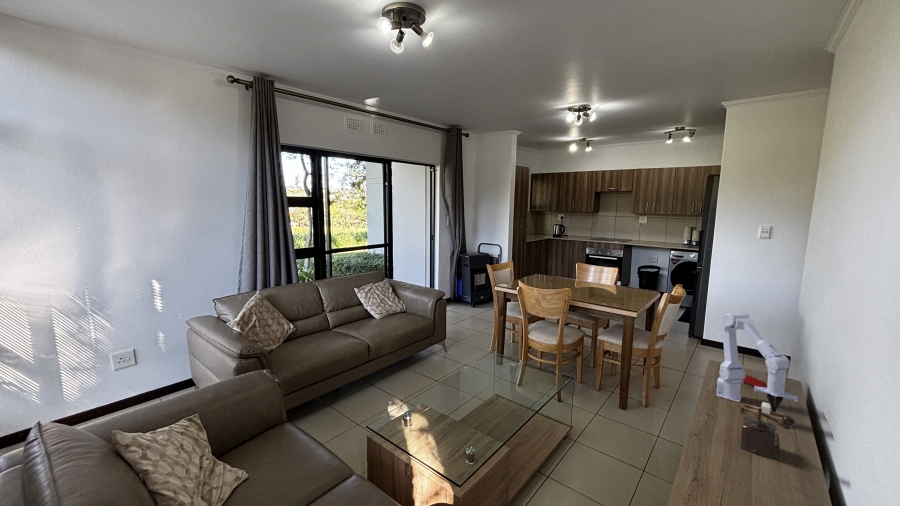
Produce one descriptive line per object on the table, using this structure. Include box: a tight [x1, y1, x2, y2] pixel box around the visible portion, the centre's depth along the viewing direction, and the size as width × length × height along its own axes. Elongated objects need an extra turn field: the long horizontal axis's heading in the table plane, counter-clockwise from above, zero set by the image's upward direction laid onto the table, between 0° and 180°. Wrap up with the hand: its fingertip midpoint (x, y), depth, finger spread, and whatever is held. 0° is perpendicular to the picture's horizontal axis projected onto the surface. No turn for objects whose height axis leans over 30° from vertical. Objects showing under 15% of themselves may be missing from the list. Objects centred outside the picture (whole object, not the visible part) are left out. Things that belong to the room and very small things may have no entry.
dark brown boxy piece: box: [739, 407, 796, 459], centre depth 142 cm, size 16×11×18 cm
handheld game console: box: [742, 374, 767, 388], centre depth 193 cm, size 12×11×7 cm
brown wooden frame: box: [740, 402, 790, 427], centre depth 166 cm, size 16×6×3 cm, turn 44°
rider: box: [760, 401, 772, 415], centre depth 165 cm, size 3×5×5 cm, turn 134°
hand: (773, 411), depth 163 cm, fingers closed
